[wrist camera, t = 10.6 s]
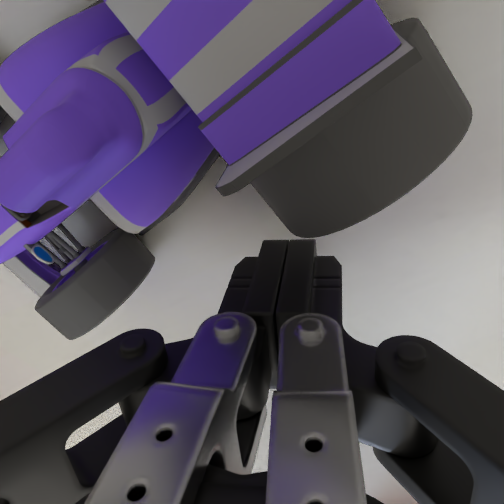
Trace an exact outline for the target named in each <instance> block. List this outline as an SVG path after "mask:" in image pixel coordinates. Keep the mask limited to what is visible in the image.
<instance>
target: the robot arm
mask: <svg viewBox="0 0 504 504" xmlns="http://www.w3.org/2000/svg"><path fill="white" fill-rule="evenodd" d="M269 388H270V389H277V391H273V397H272V411H271V426H270V442H269V457H268V471H266V472H260V473H253V474H251V472H252V469H253V465H254V461H255V457H256V453H257V450H258V446H259V442H260V438H261V435H262V431H263V427H264V423H265V420H266V415H267V407H266V402H267V398H268V393H269ZM118 402H119V405H120V408H121V411H122V415H120V416H119V417H117V418H116V419H114V420H113V421H111V422H110V423H108V424H107V425H105V426H104V427H102V428H101V429H99V430H98V431H96V432H95V433H93V434H92V435H90V436H89V437H87V438H86V439H84V440H83V441H81V442H80V443H78V444H76V445H75V446H73V447H72V448H70V449H67V450H65V444H66V441H67V439H68V438H69V436H70V435H71V434H72V433H73V432H74V431H75V430H76V429H78V428H79V427H81V426H82V425H84V424H85V423H87V422H89V421H90V420H92V419H93V418H95V417H96V416H98V415H99V414H101V413H103V412H104V411H106V410H107V409H109V408H110V407H112V406H113V405H115V404H117V403H118ZM359 442H361V443H364V444H366V445H369V446H372V447H373V451H374V454H375V456H376V457H377V459H378V460H379V462H380V463H381V464H382V465H383V466H384V467H385V468H386V469H387V470H388V471H389V472H390V473H391V474H392V475H393V477H394V478H395V479H396V480H397V481H398V482H399V483H400V484H401V485H402V486H403V487H404V488H405V489H406V490H407V491H408V492H409V493H410V495H411V496H412V497H413V498H414V499H415V500H416V501H417V502H418V503H419V504H504V391H503V390H502V389H500V388H499V387H497V386H496V385H495V384H493V383H492V382H490V381H489V380H487V379H486V378H484V377H483V376H481V375H480V374H478V373H477V372H475V371H474V370H473V369H471V368H470V367H468V366H467V365H465V364H464V363H462V362H461V361H459V360H458V359H456V358H455V357H453V356H452V355H451V354H449V353H448V352H446V351H445V350H443V349H442V348H440V347H439V346H437V345H436V344H434V343H433V342H431V341H429V340H426V339H424V338H421V337H416V336H409V335H401V336H395V337H391V338H389V339H386V340H385V341H383V342H382V343H381V344H380V345H379V346H378V347H374V346H370V345H367V344H364V343H361V342H359V341H357V340H355V339H353V338H352V337H351V336H349V335H348V334H347V333H346V331H345V330H344V328H343V325H342V266H341V264H340V263H339V262H338V261H337V259H336V258H335V257H334V256H317V254H316V240H315V239H300V240H290V242H289V240H263V242H262V246H261V249H260V253H259V256H258V257H245V258H244V259H243V260H242V261H241V262H239V263H238V264H237V265H236V266H235V268H234V271H233V274H232V276H231V279H230V282H229V284H228V288H227V290H226V292H225V295H224V298H223V301H222V303H221V306H220V309H219V311H218V314H217V315H214V316H212V317H210V318H208V319H207V320H205V321H204V322H203V323H202V324H201V326H200V327H199V329H198V331H197V333H196V335H195V336H194V338H191V339H187V340H183V341H178V342H173V343H168V344H164V340H163V337H162V335H161V334H160V333H158V332H157V331H154V330H151V329H135V330H131V331H127V332H125V333H122V334H120V335H118V336H117V337H115V338H113V339H111V340H109V341H108V342H106V343H104V344H102V345H100V346H99V347H97V348H95V349H93V350H91V351H90V352H88V353H86V354H84V355H82V356H81V357H79V358H77V359H75V360H73V361H72V362H70V363H68V364H66V365H64V366H63V367H61V368H59V369H57V370H55V371H54V372H52V373H50V374H48V375H46V376H44V377H43V378H41V379H39V380H37V381H35V382H34V383H32V384H30V385H28V386H26V387H25V388H23V389H21V390H19V391H17V392H16V393H14V394H12V395H10V396H8V397H7V398H5V399H3V400H1V401H0V504H383V503H382V502H380V501H379V500H377V499H375V498H373V497H371V496H369V495H367V494H366V493H365V485H364V477H363V470H362V462H361V455H360V447H359Z"/></svg>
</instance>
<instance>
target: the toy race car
mask: <svg viewBox="0 0 504 504" xmlns="http://www.w3.org/2000/svg"><path fill="white" fill-rule="evenodd" d="M7 113H8V114H9V115H10V116H11V117H12V118H13V119H14V121H15V124H14V125H13V126H12V127H11V128H10V129H9V130H8V131H7V132H6V133H5V134H4V136H3V139H4V141H5V143H6V145H7V147H8V149H9V150H8V151H7V152H6V153H5V154H4V155H3V156H2V157H1V158H0V264H1V263H3V264H4V265H5V266H6V267H7V268H8V269H9V270H11V271H12V272H13V273H14V274H15V275H16V276H17V277H18V278H19V279H20V280H22V281H23V282H24V283H25V284H26V285H27V286H28V287H29V288H30V289H32V290H33V291H34V292H35V293H36V294H37V295H38V296H39V297H40V299H39V300H38V302H37V304H36V306H35V310H36V311H37V312H38V313H39V314H40V315H41V316H42V317H44V318H45V319H46V320H47V321H48V322H49V323H50V324H51V325H53V326H54V327H55V328H56V329H57V330H58V331H59V332H60V333H62V334H63V335H64V336H65V337H66V338H67V339H69V340H72V339H76V338H78V337H80V336H82V335H84V334H86V333H87V332H89V331H90V330H92V329H93V328H95V327H96V326H97V325H99V324H100V323H101V322H103V321H104V320H105V319H106V318H107V317H109V316H110V315H111V314H112V313H113V312H114V311H115V310H116V309H118V308H119V307H120V306H121V305H122V304H123V303H124V302H125V301H126V300H127V299H128V298H129V297H130V296H131V295H132V293H133V292H134V291H135V290H136V289H137V288H138V287H139V285H140V284H141V283H142V282H143V280H144V279H145V278H146V276H147V275H148V273H149V272H150V270H151V268H152V266H153V264H154V262H155V257H154V256H153V254H152V253H151V252H150V251H149V250H148V249H147V248H146V247H145V246H144V245H143V244H142V243H141V242H140V241H139V240H138V239H137V238H136V236H135V235H134V234H137V233H138V234H139V235H144V234H145V233H146V232H148V231H149V230H150V229H152V228H153V227H154V226H156V225H157V224H158V223H160V222H161V221H162V220H164V219H165V218H166V217H168V216H169V215H170V214H171V213H173V212H174V211H175V210H176V209H177V208H178V207H180V206H181V205H182V203H183V202H184V201H185V200H186V199H187V198H188V197H189V195H190V194H191V193H192V191H193V190H194V189H195V187H196V186H197V185H198V183H199V182H200V181H201V179H202V178H203V177H204V175H205V174H206V173H207V171H208V170H209V169H210V167H211V166H212V164H213V163H214V162H215V160H216V159H217V158H218V156H219V155H221V156H222V157H223V158H224V160H225V161H226V162H227V163H228V166H227V168H226V169H225V171H224V173H223V174H222V176H221V178H220V179H219V181H218V183H217V184H216V187H215V188H216V189H217V190H218V191H219V192H220V194H221V195H222V196H227V195H230V194H233V193H235V192H237V191H239V190H241V189H242V188H243V187H245V186H246V185H248V184H249V183H251V184H252V186H253V187H254V188H255V189H256V190H257V192H258V193H259V194H260V195H261V197H262V198H263V199H264V200H265V201H266V203H267V204H268V205H269V206H270V208H271V209H272V210H273V211H274V212H275V214H276V215H277V216H278V217H279V219H280V220H281V221H282V222H283V223H284V225H285V226H286V227H287V228H288V229H289V231H290V232H291V233H293V234H294V235H296V236H299V237H304V238H312V237H320V236H324V235H328V234H331V233H334V232H337V231H340V230H343V229H345V228H347V227H350V226H352V225H354V224H356V223H358V222H361V221H363V220H365V219H367V218H368V217H370V216H372V215H374V214H376V213H377V212H379V211H381V210H382V209H384V208H386V207H387V206H389V205H390V204H392V203H394V202H395V201H396V200H398V199H399V198H401V197H402V196H404V195H405V194H406V193H408V192H409V191H410V190H412V189H413V188H414V187H416V186H417V185H418V184H419V183H421V182H422V181H423V180H424V179H425V178H426V177H428V176H429V175H430V174H431V173H432V172H433V171H434V170H435V169H437V168H438V167H439V166H440V165H441V164H442V163H443V162H444V161H445V160H446V158H447V157H448V156H449V155H450V154H451V153H452V152H453V151H454V150H455V148H456V147H457V146H458V144H459V143H460V142H461V140H462V139H463V137H464V136H465V134H466V132H467V131H468V128H469V126H470V123H471V120H472V108H471V106H470V104H469V102H468V100H467V98H466V97H465V95H464V93H463V92H462V90H461V88H460V87H459V85H458V83H457V81H456V80H455V78H454V76H453V75H452V73H451V71H450V70H449V68H448V66H447V65H446V63H445V61H444V59H443V58H442V56H441V54H440V53H439V51H438V49H437V48H436V46H435V44H434V43H433V41H432V39H431V38H430V36H429V34H428V32H427V31H426V29H425V28H424V26H423V25H422V23H421V22H420V20H419V19H417V18H411V19H406V20H403V21H400V22H398V23H395V24H393V25H390V24H389V22H388V20H387V19H386V17H385V16H384V14H383V12H382V11H381V9H380V7H379V6H378V4H377V3H376V1H375V0H99V1H98V2H96V3H94V4H93V5H91V6H89V7H88V8H86V9H84V10H83V11H81V12H79V13H77V14H75V15H73V16H71V17H69V18H67V19H65V20H63V21H61V22H59V23H57V24H55V25H53V26H52V27H50V28H48V29H46V30H45V31H43V32H41V33H40V34H38V35H37V36H35V37H34V38H32V39H31V40H29V41H28V42H26V43H25V44H24V45H22V46H21V47H19V48H18V49H17V50H16V51H14V52H13V53H12V54H11V55H10V56H9V57H8V58H7V59H6V60H5V61H4V62H3V63H2V65H1V66H0V123H1V122H2V121H3V119H4V117H5V116H6V114H7ZM89 199H91V200H92V201H93V202H94V203H95V204H96V205H97V206H98V208H99V209H100V210H101V211H102V212H103V213H104V214H105V215H106V216H107V217H108V218H109V219H110V220H111V221H112V222H113V223H114V224H116V225H117V226H118V227H119V228H118V229H116V230H114V231H112V232H111V233H109V234H108V235H107V236H105V237H104V238H103V239H101V240H100V241H99V242H97V243H96V244H95V245H94V246H93V247H91V248H90V247H89V246H88V247H86V248H85V247H84V246H83V247H82V246H81V244H80V243H79V242H78V241H77V240H76V239H75V238H74V237H73V236H72V234H71V233H70V232H69V231H68V230H67V229H66V228H65V227H64V226H63V225H62V223H61V222H62V221H64V220H65V219H66V218H67V217H68V216H69V215H71V214H72V213H73V212H74V211H76V210H77V209H78V208H79V207H80V206H82V205H83V204H84V203H85V202H86V201H87V200H89ZM55 227H58V228H59V229H60V230H61V231H62V232H63V233H64V234H65V235H66V236H67V238H68V239H69V240H70V241H71V242H72V243H73V244H74V245H75V246H76V247H77V249H78V251H79V252H80V253H79V252H76V251H75V250H74V249H73V248H72V247H71V246H70V245H68V244H67V243H66V242H65V241H64V240H63V239H61V238H60V237H59V236H58V235H57V234H56V233H55V232H53V231H52V230H53V229H54V228H55ZM43 237H45V239H46V240H47V241H48V242H49V243H50V244H51V245H52V246H53V247H54V248H55V249H56V250H57V251H58V253H59V254H60V255H61V256H62V257H63V258H64V259H65V260H66V262H67V264H66V263H65V262H63V261H62V260H60V259H59V258H58V257H57V256H56V255H54V254H53V253H52V252H51V251H50V250H49V249H47V248H46V247H45V246H44V245H43V244H42V243H40V242H39V240H41V239H42V238H43ZM54 261H55V262H56V263H57V264H58V265H60V268H61V271H60V273H59V272H57V271H56V270H54V269H52V268H51V267H49V266H48V265H46V264H52V263H53V262H54ZM45 263H46V264H45Z"/></svg>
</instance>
